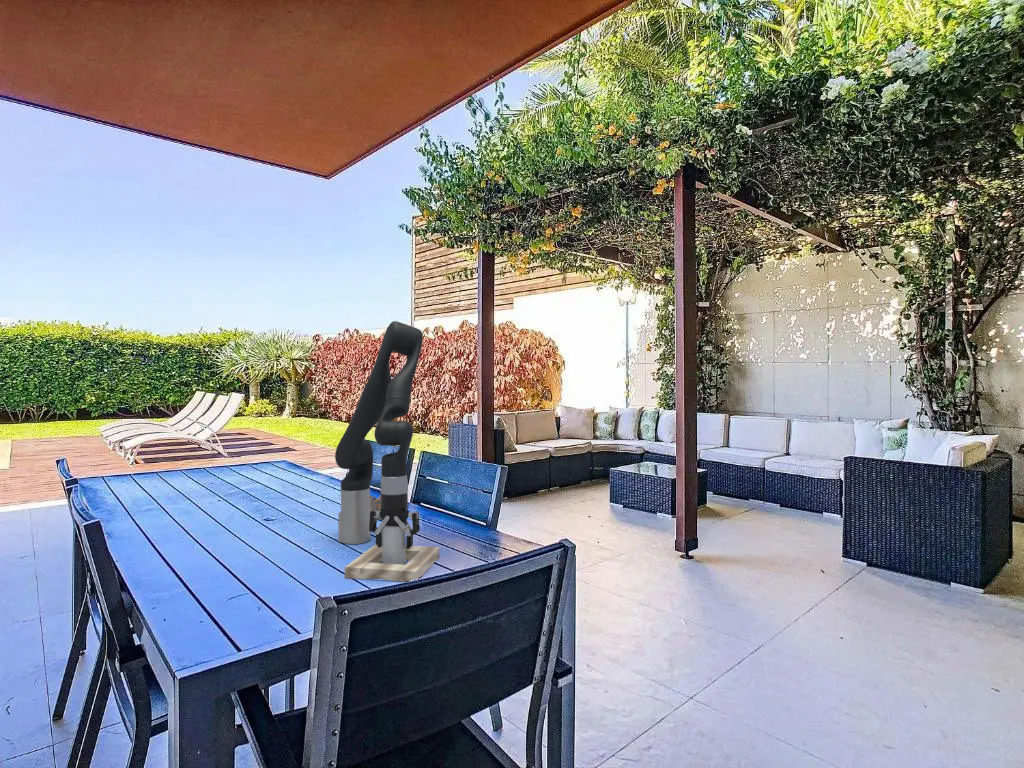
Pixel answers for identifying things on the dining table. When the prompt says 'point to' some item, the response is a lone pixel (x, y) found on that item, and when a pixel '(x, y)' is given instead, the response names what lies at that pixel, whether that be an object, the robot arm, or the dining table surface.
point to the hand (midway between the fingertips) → (394, 547)
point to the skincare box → (393, 545)
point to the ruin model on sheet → (375, 505)
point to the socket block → (373, 569)
